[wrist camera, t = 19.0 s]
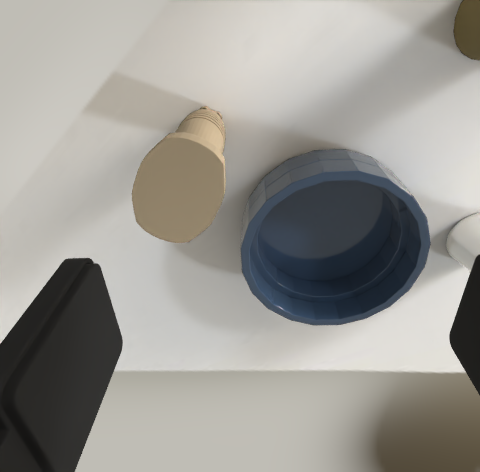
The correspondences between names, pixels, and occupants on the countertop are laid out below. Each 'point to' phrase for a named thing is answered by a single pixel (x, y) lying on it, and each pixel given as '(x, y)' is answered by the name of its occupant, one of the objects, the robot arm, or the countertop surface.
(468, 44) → the olive tapered shaker
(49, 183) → the countertop surface
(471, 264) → the beer glass
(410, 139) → the countertop surface
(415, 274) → the bowl
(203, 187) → the handle
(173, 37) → the countertop surface
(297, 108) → the countertop surface
